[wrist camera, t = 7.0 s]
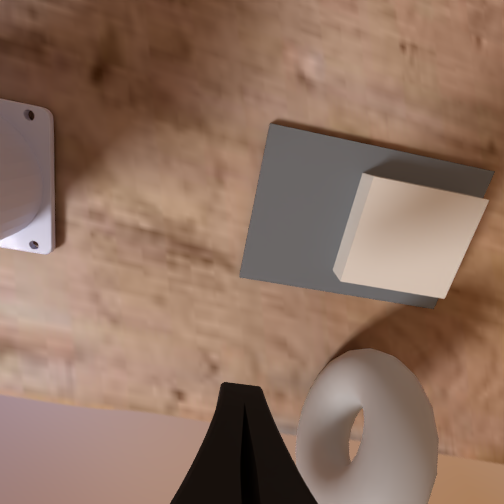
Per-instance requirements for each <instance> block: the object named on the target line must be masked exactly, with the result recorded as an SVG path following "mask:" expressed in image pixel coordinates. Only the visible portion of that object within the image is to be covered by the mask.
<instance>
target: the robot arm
mask: <svg viewBox="0 0 504 504" xmlns="http://www.w3.org/2000/svg"><path fill="white" fill-rule="evenodd" d="M30 110H31V111H32V112H33V113H34V116H35V117H34V119H33V120H31V119H30V118H29V115H28V114H29V111H30ZM33 241H36V242H37V243H38V245H39V247H36V246H35V245H34V243H33ZM0 247H1V248H8V249H14V250H20V251H26V252H33V253H39V254H49V253H51V252H52V251H53V250H54V249H55V183H54V119H53V115H52V113H51V112H50V111H49V110H48V109H47V108H44V107H40V106H35V105H30V104H25V103H21V102H16V101H11V100H6V99H1V98H0ZM170 504H318V503H317V501H316V500H315V498H314V496H313V495H312V493H311V492H310V490H309V488H308V486H307V485H306V483H305V481H304V480H303V478H302V476H301V474H300V472H299V471H298V469H297V467H296V465H295V463H294V461H293V460H292V458H291V456H290V454H289V452H288V450H287V448H286V446H285V444H284V442H283V439H282V437H281V435H280V433H279V431H278V429H277V426H276V424H275V422H274V419H273V417H272V415H271V412H270V410H269V407H268V405H267V402H266V399H265V397H264V394H263V391H262V389H261V387H259V386H252V385H244V384H236V383H228V382H224V383H222V384H221V387H220V392H219V396H218V401H217V406H216V410H215V413H214V416H213V419H212V421H211V424H210V426H209V429H208V431H207V434H206V436H205V438H204V441H203V443H202V445H201V447H200V449H199V451H198V453H197V455H196V457H195V459H194V461H193V464H192V465H191V467H190V469H189V471H188V473H187V475H186V477H185V479H184V480H183V482H182V484H181V486H180V488H179V489H178V491H177V493H176V494H175V496H174V498H173V499H172V501H171V503H170Z"/></svg>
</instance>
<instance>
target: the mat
mask: <svg viewBox="0 0 504 504" xmlns="http://www.w3.org/2000/svg"><path fill="white" fill-rule="evenodd" d="M362 173H366V174H371V175H375V176H380V177H385V178H390V179H395V180H400V181H405V182H410V183H414V184H419V185H424V186H429V187H434V188H439V189H444V190H449V191H453V192H458V193H463V194H468V195H472V196H476V197H480V198H483V197H484V195H485V193H486V190H487V188H488V186H489V184H490V181H491V179H492V177H493V175H494V171H490V170H485V169H480V168H476V167H471V166H466V165H462V164H457V163H452V162H448V161H443V160H439V159H434V158H429V157H425V156H420V155H415V154H411V153H406V152H401V151H397V150H392V149H387V148H383V147H378V146H373V145H369V144H364V143H360V142H355V141H350V140H346V139H341V138H336V137H332V136H327V135H322V134H318V133H313V132H308V131H304V130H299V129H295V128H290V127H285V126H281V125H276V124H271V123H270V126H269V131H268V136H267V141H266V146H265V151H264V156H263V161H262V165H261V170H260V175H259V180H258V185H257V190H256V195H255V200H254V205H253V210H252V215H251V220H250V225H249V230H248V235H247V240H246V245H245V250H244V255H243V260H242V265H241V270H240V277H241V278H247V279H253V280H259V281H265V282H271V283H277V284H284V285H290V286H296V287H302V288H308V289H314V290H320V291H326V292H332V293H339V294H345V295H351V296H357V297H363V298H369V299H375V300H381V301H388V302H394V303H400V304H406V305H412V306H418V307H424V308H430V309H434V307H435V305H436V303H437V300H438V298H436V297H431V296H425V295H419V294H413V293H407V292H401V291H395V290H389V289H383V288H377V287H371V286H365V285H359V284H353V283H347V282H341V281H340V280H339V279H338V277H337V276H336V274H335V273H334V271H333V267H334V264H335V261H336V258H337V254H338V251H339V248H340V245H341V241H342V238H343V235H344V232H345V228H346V225H347V222H348V219H349V215H350V212H351V209H352V206H353V202H354V199H355V196H356V193H357V189H358V186H359V183H360V180H361V176H362Z"/></svg>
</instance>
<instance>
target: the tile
mask: <svg viewBox="0 0 504 504" xmlns="http://www.w3.org/2000/svg"><path fill="white" fill-rule="evenodd" d="M488 202H489V200H487V199H483V198H480V197H476V196H472V195H468V194H463V193H458V192H453V191H449V190H444V189H439V188H434V187H429V186H424V185H419V184H414V183H410V182H405V181H400V180H395V179H390V178H385V177H380V176H375V175H371V174H366V173H362V176H361V180H360V183H359V186H358V189H357V193H356V196H355V199H354V202H353V206H352V209H351V212H350V215H349V219H348V222H347V225H346V228H345V232H344V235H343V238H342V241H341V245H340V248H339V251H338V254H337V258H336V261H335V264H334V267H333V271H334V273H335V274H336V276H337V277H338V279H339V280H340V281H341V282H347V283H353V284H359V285H365V286H371V287H377V288H383V289H389V290H395V291H401V292H407V293H413V294H419V295H425V296H431V297H436V298H442V299H445V297H446V295H447V292H448V290H449V288H450V286H451V284H452V281H453V279H454V277H455V275H456V273H457V270H458V268H459V266H460V264H461V262H462V259H463V257H464V255H465V253H466V250H467V248H468V246H469V244H470V242H471V239H472V237H473V235H474V233H475V231H476V228H477V226H478V224H479V222H480V220H481V217H482V215H483V213H484V211H485V208H486V206H487V204H488Z"/></svg>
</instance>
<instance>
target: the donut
mask: <svg viewBox="0 0 504 504" xmlns="http://www.w3.org/2000/svg"><path fill="white" fill-rule="evenodd" d="M362 408H363V410H364V429H363V435H362V441H361V443H360V446H359V449H358V452H357V455H356V456H355V457H354V459H353V461H352V462H350V457H349V438H350V432H351V428H352V425H353V423H354V420H355V418H356V416H357V415H358V413H359V411H360V410H361V409H362ZM437 457H438V434H437V429H436V424H435V419H434V413H433V408H432V405H431V403H430V401H429V399H428V397H427V395H426V393H425V391H424V389H423V387H422V385H421V383H420V382H419V380H418V378H417V377H416V376H415V375H414V374H413V373H412V372H411V371H410V370H409V369H408V368H407V367H406V366H405V365H404V364H403V363H402V362H401V361H400V360H399V359H397V358H396V357H394V356H392V355H390V354H387V353H384V352H381V351H379V350H375V349H372V348H367V349H358V350H350V351H347V352H346V353H344V354H342V355H340V356H339V357H337V358H335V359H334V360H332V361H331V362H330V363H329V364H328V365H327V366H326V367H325V368H324V369H323V370H322V371H321V372H320V373H319V375H318V377H317V378H316V380H315V382H314V383H313V385H312V386H311V388H310V390H309V393H308V395H307V398H306V400H305V403H304V405H303V408H302V412H301V416H300V420H299V425H298V429H297V440H296V466H297V469H298V471H299V472H300V474H301V476H302V478H303V480H304V481H305V483H306V485H307V486H308V488H309V490H310V492H311V493H312V495H313V496H314V498H315V500H316V501H317V503H318V504H428V501H429V498H430V495H431V491H432V488H433V485H434V482H435V478H436V475H437V459H438V458H437Z"/></svg>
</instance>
